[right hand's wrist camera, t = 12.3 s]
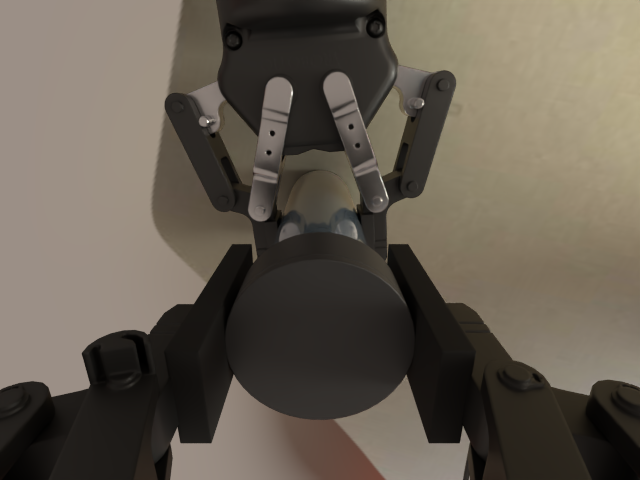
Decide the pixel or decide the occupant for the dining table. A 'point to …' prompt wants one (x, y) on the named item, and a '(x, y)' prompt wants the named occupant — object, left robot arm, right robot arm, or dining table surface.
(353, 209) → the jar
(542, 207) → the dining table surface
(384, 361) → the lid
